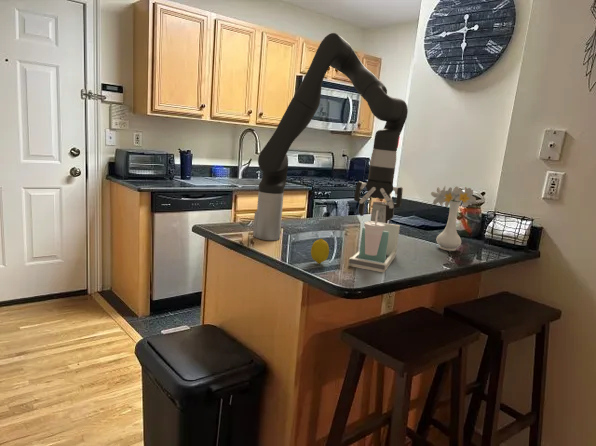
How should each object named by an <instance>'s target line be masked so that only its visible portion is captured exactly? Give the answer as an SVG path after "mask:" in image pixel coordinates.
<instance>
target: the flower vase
mask: <svg viewBox="0 0 596 446" xmlns="http://www.w3.org/2000/svg"><path fill="white" fill-rule="evenodd" d="M452 188H453V187H449V188H447V190H446V185H444V187H443V188H442V190H441V189H440V187H436V192H435V191H432V192H431V193H430V195H431V196H432V197H433V198H435V199H434V200H433V202H432V204H433V205H435V206H436V205H437V204H439V205H440V206H443V204H444V206H445V207H446V208H448V207H449V211H448V217H447V223H446V225H445V228H444V229H443V230H442V232H440V233H439V234H438V235H437V236H436V238H435V239H436V243H437V245H438V246H439V249H441V250H442V251H443V250H444V251H449V252H454V251H455V252H456V251H457V248H459V247H460V246H461V245H462V239H461V237H460V235H459V234H458V232H457V216H458V213H459V212H458V211H459V208H460V206H461V204H463V206H464V207H468V206H472V203H475V204H476V203H477V198H476V196H473V194H474V191H473V189H472V188H471V187H466V186H465V187H464V191H463V190H462V189H461V188H459V186H454V188H453V189H452Z"/></svg>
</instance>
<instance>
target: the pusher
mask: <svg viewBox="0 0 596 446" xmlns="http://www.w3.org/2000/svg"><path fill="white" fill-rule="evenodd" d="M360 236H361V237H360V239H361V240H360V245H359V251H360V253H359V258H360V259H362V260H367V261H373V262H378V263H384V262H385V261H386V259H387V257H386V256H387V255H386V252H387V245H388V237H389V232H388V231H383V233H382V237H381V241H380V244H379V248H378V252H377V255H375V256H372V255H367V254H365V227H362V230H361V235H360Z"/></svg>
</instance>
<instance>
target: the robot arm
mask: <svg viewBox="0 0 596 446" xmlns="http://www.w3.org/2000/svg"><path fill="white" fill-rule="evenodd" d="M330 67H331V68H332V69H334V70H337V71H338V72H340V73H341V74H343V75H344V76H346V77H347V79H349V81H350V82H351V83H352V85H353V86H352V87H354V89H355V90H356V91H357V93H358V94H359V95H360V96H361V97H362V99H364V101H366V103H367V105H368V107H369V109H370V111H371V113H372V114H373V116H374V117H375V118H376V119H378V120H380V121H382V122H386V123H385V124H384V127H383V129H379V130H376V132H375V135H374V139H373V146H372V148H373V149H372V153H371V156H370V157H371V158H370V161H369V170H368V176H367V182H363V181H358V182H357V183H356V186H355V191H354V192H355V193H354V198H353V200H354V201H355V202H358V214H359V216H360V217H364V214H365V210H366V208H365V207H366V203H365V202H366V201H367V200H369V198H372V199H378V200H385V203H388V205H389V206H390V208H389V211H388V218H387V220H388V221H390V220H392V219H393V218H394V216H395V215H394V214H395V209H397V208H400V207H401V206H402V202H403V190H404V189H403V187H402V186H399V187H395V186H394V177H395V170H396V164H397V153H398V151H397V150H398V145H399V138H400V136H401V133H402V130H403V129H404V127H405V124H406V120H407V118H408V111H409V110H408V104H407V103H406V101H405V100H404V99H402V98H398V97H392V96H390V95H388V89H387V87H386V86H385V84H384V83H383V82H382V81H381V80H380V79H379V78H378V77H377V76H376V75H375V74H374V73H373V72H372V71H370V69H368V68H367V67H366V66H365V65H364V64H363V63H362V61H361V60H360V58H359V57H358V55H357V53H356V52H355V50H354V49H353V47H352V45H351V44H350V43H349V42H348V41H346V39H344V38H343V37H342V36H341V35H339V34H337V33H336V32H332V33H331V32H330V33H329V34H327V35H326V36H325V37H324V38H323V39H322V40H321V41H320V44H319V46H318V48H317V49H316V52H315V54H314V56H313V59H312V60H311V63H310V65H309V66H308V70H307V72H306V73H305V75H304V78H303V79H302V81H301V83H300V85H299V87H298V89H297V90H296V92H295V93H294V95H293V97H292V99H291V101H290V102H289V103H288V105H287V108H286V110H285V112H283V113H284V114H283V115H282V117H281V119H280V121H279V123H278V125H277V127H276V129H275V131H274V133H273V134H272V136H271V137H270V139H269V140H268V142H267V143H266V144H265V145H264V147H263V148H262V149H261V151H260V153H259V155H258V158H257V164H258V167H259V169H260V170H261V171H262V177H261V180H260V182H259V184H258V192H257V194H258V195H257V207H256V211H254V219H253V228H252V229H253V233H252V237H253V238H256V239H259V240H263V241H277V240H280V239H281V229H282V228H281V227H282V220H283V219H282V218H283V217H282V216H283V208H284V207H283V206H284V193H285V187H286V185H287V179H288V169H289V157H288V155H287V153H288V152H289V149H290V148H291V146H292V144H293V143H294V141H295V140H296V139H297V138H298V137H299V136H300V135H301V134H302V133H303V132H304V131H305V129H306V128H307V126H308V125H309V124H310V123H311V122H312V120H313V118H314V116H315V114H316V112H317V111H318V109H319V107H320V103H321V97H322V88H323V81H324V79H325V76H326V75H327V72H328V71H329V69H330ZM364 188H365V189H366V191H367V193H366V194H365V195H363V197H361V193H362V190H363V189H364ZM393 191H394V194H395V195H396V202H394V201H393V198H392V196H391V193H392V192H393Z"/></svg>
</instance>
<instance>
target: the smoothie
mask: <svg viewBox="0 0 596 446" xmlns="http://www.w3.org/2000/svg"><path fill="white" fill-rule="evenodd" d="M377 218H378V210H377V211H376V219H375V222H368V221H365V222H363V223H364V225H363V226H364V228H365V254H367V255H372V256H375V255H377V252H378V248H379V244H380V241H381V237H382V233H383V229H384V228H385V225H384V224H382V223H377Z"/></svg>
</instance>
